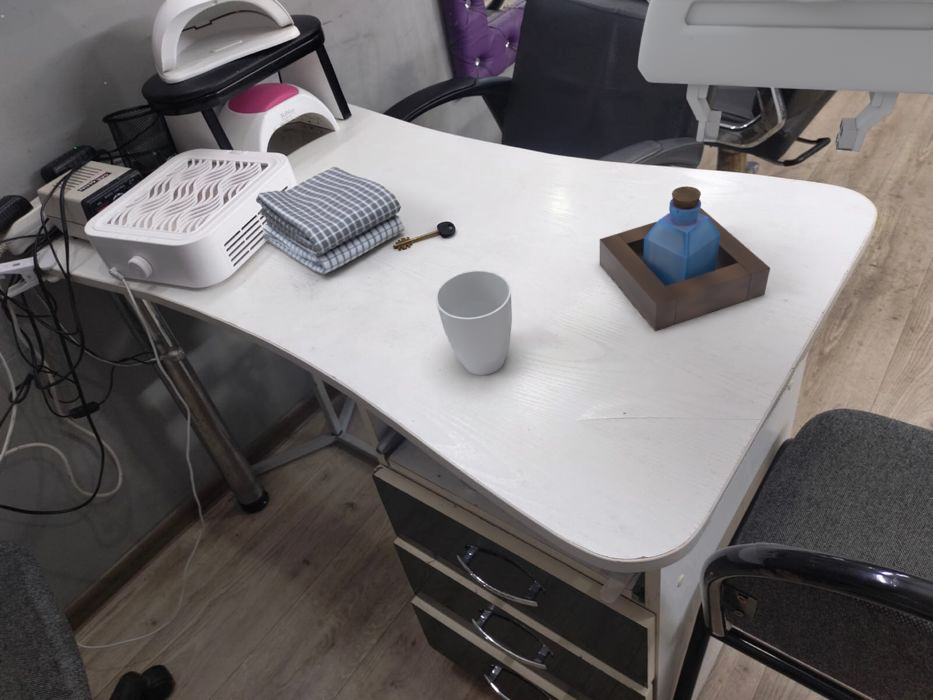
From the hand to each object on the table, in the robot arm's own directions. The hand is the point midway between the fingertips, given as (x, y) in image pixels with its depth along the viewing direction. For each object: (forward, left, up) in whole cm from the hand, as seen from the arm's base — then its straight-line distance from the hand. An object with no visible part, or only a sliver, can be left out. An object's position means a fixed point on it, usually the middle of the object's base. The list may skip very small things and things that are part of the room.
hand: (774, 143), depth 49 cm
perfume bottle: (-7, -21, -30) cm, 37 cm away
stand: (-7, -21, -30) cm, 37 cm away
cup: (+20, -18, -30) cm, 40 cm away
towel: (+32, -53, -30) cm, 69 cm away
